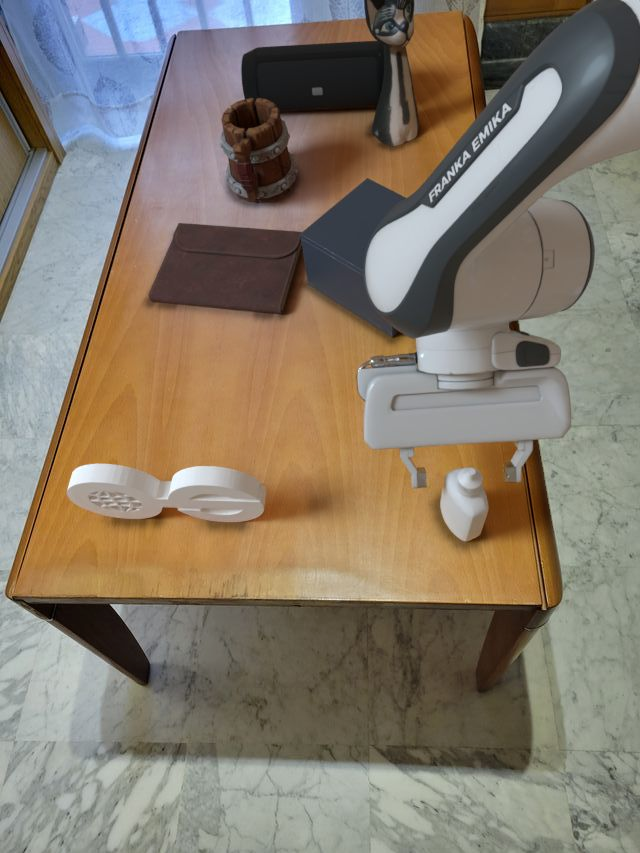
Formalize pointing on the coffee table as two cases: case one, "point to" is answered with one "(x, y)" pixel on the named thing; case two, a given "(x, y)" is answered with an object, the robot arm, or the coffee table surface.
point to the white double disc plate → (167, 492)
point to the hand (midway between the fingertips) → (465, 483)
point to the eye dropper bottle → (464, 503)
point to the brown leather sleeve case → (228, 268)
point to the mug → (257, 151)
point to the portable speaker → (315, 75)
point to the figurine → (394, 70)
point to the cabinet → (348, 249)
